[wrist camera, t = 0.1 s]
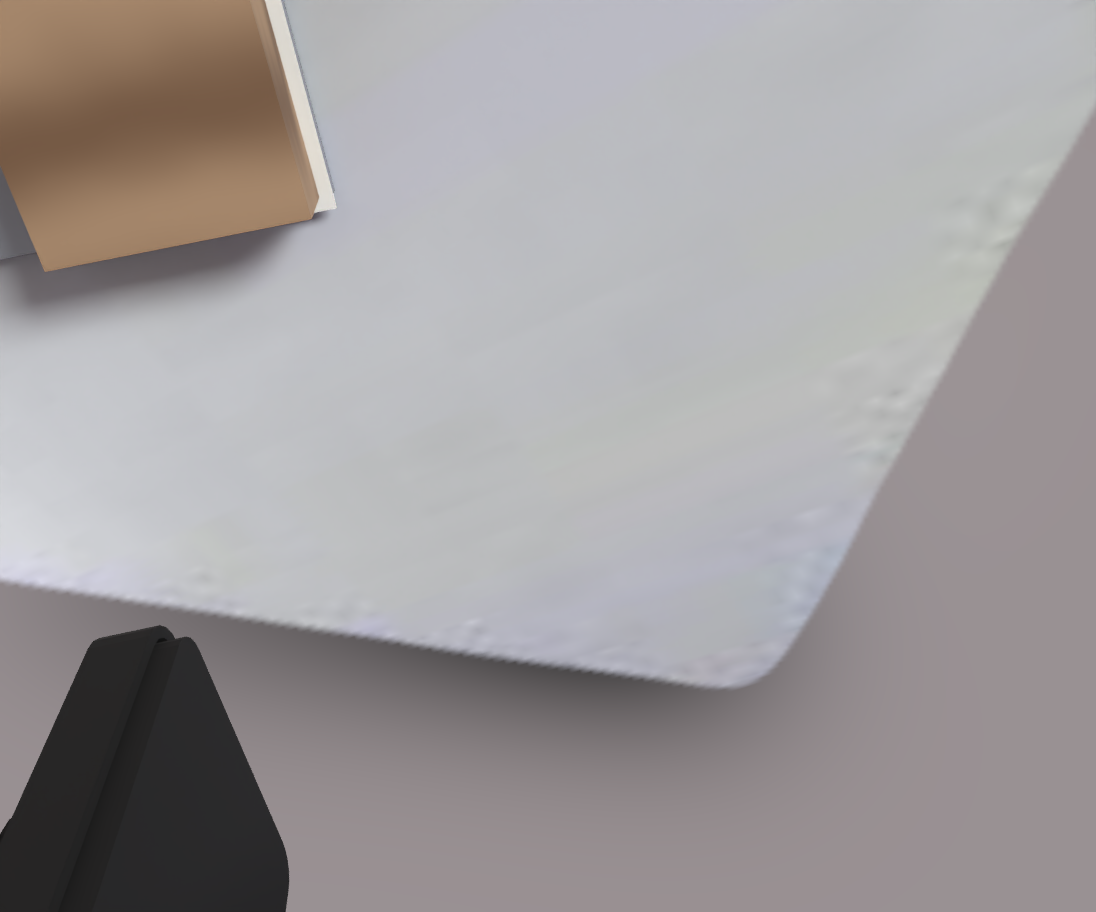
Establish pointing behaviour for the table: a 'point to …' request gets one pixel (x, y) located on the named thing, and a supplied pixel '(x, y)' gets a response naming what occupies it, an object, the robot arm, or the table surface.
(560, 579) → the table surface
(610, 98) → the table surface
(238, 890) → the robot arm
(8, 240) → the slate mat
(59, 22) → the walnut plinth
